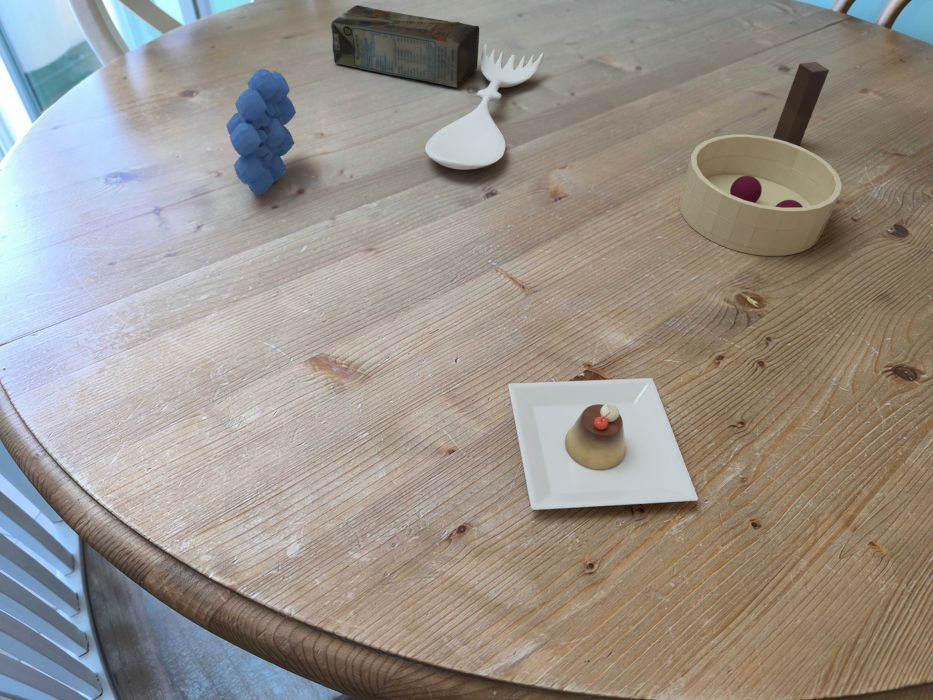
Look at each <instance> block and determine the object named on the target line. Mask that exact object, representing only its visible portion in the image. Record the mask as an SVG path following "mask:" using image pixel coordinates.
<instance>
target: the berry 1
mask: <svg viewBox="0 0 933 700" xmlns="http://www.w3.org/2000/svg"><path fill="white" fill-rule="evenodd" d="M761 192H762V187H761V184H760V182H759V181H758V180H757V179H756V178H754V177H752V176H742V177H740V178H738V179H736V180H735V181H734V182H733V184H732V186H731V189H730V194H731V195H733V196H735V197H738V198H740V199H743V200H746V201H749V202H753V203H755V202H756V201H757V200H758V199H759V198H760V196H761Z"/></svg>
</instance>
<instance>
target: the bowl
mask: <svg viewBox="0 0 933 700" xmlns="http://www.w3.org/2000/svg"><path fill="white" fill-rule="evenodd" d="M742 176H752V177H754V178H756V179H757V180H758V181H759V182H760V184H761V187H762V192H761V196H760V198H759V199H758V200H757V201H756V202H755V203H753V202H749V201H746V200H743V199H740V198H738V197H735V196H733V195H731V194H730V189H731V186H732V184H733V182H734V181H735V180H736V179H738V178H740V177H742ZM842 186H843V184H842V181H841V178H840V175H839V173H838V172H837V170H835V169H834V167H832V165H831V164H830V163H828V161H826V160H825V159H823V158H822V157H820V156H819V155H817V154H816V153H814V152H812V151H810V150H808V149H806V148H805V147H802V146H801V145H800V146H797V145H794V144H791V143H789V142H786V141H782V140H778V139H774V138H773V137H770V136H764V135H755V134H743V133H742V134H739V133H737V134H734V133H733V134H726V135H719V136H715V137H712V138H709V139H706V140H703V141H702V142H701V143H700V144H698V145H696V146H695V148H694V149H693V152H692V153H691V155H690V158H689V162H688V165H687V168H686V172H685V176H684V178H683V183H682V187H681V191H680V195H679V201H678V206H679V207H678V208H679V211H680V213H681V216H682V217H683V219H684V221H685V222H686V223H687V225H689V226H690V227H691V228H692V229H693V230H694V231H695V232H697V233H698V234H699V235H700V236H702V237H704V238H705V239H707V240H709V241H710V242H712V243H715V244H717V245H719V246H721V247H724V248H726V249H729V250H733V251H735V252H740V253H744V254H749V255H755V256H761V257H762V256H763V257H784V256H791V255H795V254H801V253H802V252H805V251H808V250H809V249H810V248H812V247H814V245H816V244H817V243H818V241H819V240H820V239H821V236H822V234H823V233H824V231H825V230H826V226H827V224H828V222H829V220H830V218H831V215H832V213H833V211H834V209H835V206H836V205H837V203H838V200H839V198H840V195H841V192H842ZM784 200H795V201H797V202H799V203H800V204H801V205H802V206H803V207H801V208H781V207H775V206H776V205H777V204H778V203H780V202H782V201H784Z"/></svg>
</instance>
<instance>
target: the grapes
mask: <svg viewBox="0 0 933 700" xmlns="http://www.w3.org/2000/svg"><path fill="white" fill-rule="evenodd" d="M246 84H247V87H248V88H247V89H245V90H244V91H242V93H240V95H239V96H238V98H237V99H236V101H235V103H234V105H235V108H236V111H237V112H235V113H234V114H233V115H232V116H231V117H230V118H229V121H228V122H227V123H226V129H227V132H228V135H229V141H230V143H231V145H232V147H233V149H234V151H235V152H236V153H237V154H238V155H239V157H238V158H237V159H236V161H235V162H234V164H233V168H234V172H235V173H236V176H237V178H238V179H239V180H240V181H241V183H242V184H244V185H247V186H248V188H249V189H250V190H251V192H252V193H253V194H256V195H262V194H265V193H266V192H267V191H268V190H269V188H271V187H272V186H273V184H274V183H275V182H277V181H279V179H281V177H282V176H283V175H284V174H285V173H286V171H287V168H286V166H285V163H284V160H283V158H282V156H285V155H286V154H287V153H289V151H290V150H291V149H292V148H293V146H294V145H295V141H294V137H293V135H292V133H291V132H290V130H289V129H288V128H287V127H286V125H288V123H289V122H290V121H292V119H293V118H294V116H295V115H296V113H297V111H296V107H295V106H294V104H293V101H292V100H291V98H289V96H288V94H289V93H290V91H291V89H290V86H289V84H288V82H287V80H286V78H285V77H284V75H282V73H280V72H278V71H272V72H270V71H269V70H268V69H266V68H263V67H262V68H259V69H257V70H256V71H255V72H254V73H253V74H252V75H251V76H250V78H249V80H248V82H247V83H246Z"/></svg>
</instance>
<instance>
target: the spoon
mask: <svg viewBox="0 0 933 700" xmlns="http://www.w3.org/2000/svg"><path fill="white" fill-rule="evenodd" d="M495 58H496V48H494V49H492V51H491V53H490V55H488V44H487V43H485V44H484V46H483V48H482V50H481V56H480V71H481V73H482V75H483V76H484V78H485V79H486V80H487V81H488V82H489V84H488V86H487V87H486V88H484V89H480V90H478V91H477V92H476V95H477V98H479V99H481V101H480V103H479V104H478V106H476V108H475V109H473V110H472V111H470V112H469V113H467V114H466V115H463V116H461V118H458V119H457V120H454V121H453V122H451V123H449V124H447V125H445V126H444V127H442V128H440V129H439V130H438V131H437V132H435V133H434V134H433V135H432V136H431V137H430V138H429V139H428V140H427V142H426V143H425V146H424V148H425V153H426V154H427V156H428V157H429V158H430V159H431V160H432V161H434V162H435V163H437V164H439V165H441V166H443V167H445V168H449V169H454V170H476V169H481V168H485V167H488V166H491V165H493V164H494V163H496V162H498V161H499V160H501V158H503V156H504V154H505V150H506V141H505V137H504V135H503V133H502V131H501V130H500V129H499V127H498V126H497V124H496V122H495V121H494V120H493V117H492V115H490V112H489V106H490V103H491V102H495V101H499V100H501V98H502V94H501V93H500V92H498V90H499V88H511V87H515V86H517V85H520V84H522V83H525V82H526V81H528V80H529V79H530V78H531V77H532V76H533V75H534V74H535V73H536V71H537V70H538V68H539V67H540V66H541V65H542V63H543V61H544V58H545V53H544V52H541V54H540V55H539V56H538V58H537V59H536V60H535V61H534V59H535V53H534V54H532V55H531V56H530V58H529V60H528V61H527V63H526V64H525V62H526V54H524V55H523V56H522V58H521V60H520V62H519V63H518V65H517V66H516V68H515V63H516V56H515V54H514V53H513V54H511V55H510V56H509V58H508V60H507V61H506V63H505V65H504V66H503V65H502V64H503V58H504V50H502V51H501V53H500V54H499V57H498V58H497V60H496V62H495ZM502 66H503V67H502Z"/></svg>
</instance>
